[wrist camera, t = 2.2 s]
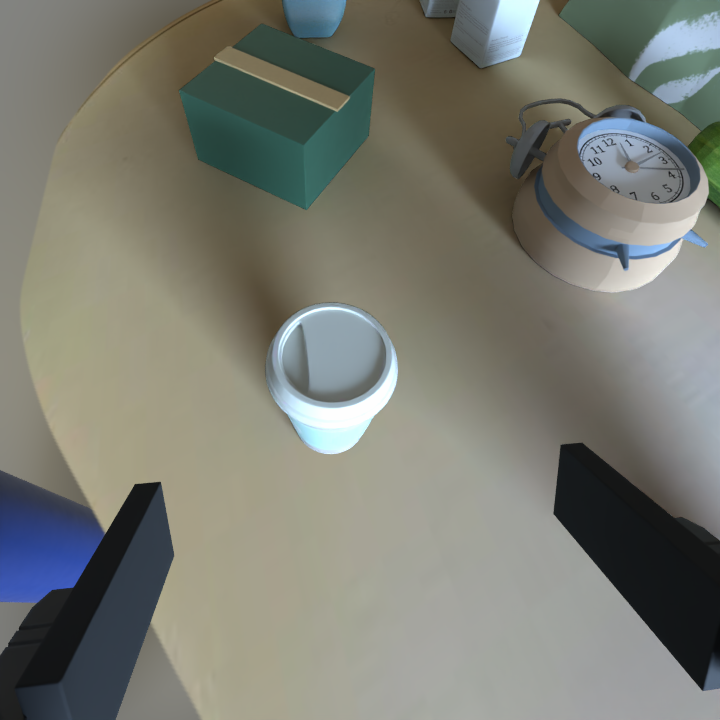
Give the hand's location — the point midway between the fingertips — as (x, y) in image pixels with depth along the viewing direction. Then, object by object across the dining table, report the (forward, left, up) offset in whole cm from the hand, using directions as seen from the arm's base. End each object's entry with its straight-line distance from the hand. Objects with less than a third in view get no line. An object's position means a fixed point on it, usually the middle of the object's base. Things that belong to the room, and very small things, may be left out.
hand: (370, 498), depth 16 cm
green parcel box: (-27, +35, -22) cm, 49 cm away
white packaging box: (-15, +67, -22) cm, 72 cm away
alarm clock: (+5, +44, -22) cm, 49 cm away
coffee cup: (-6, +9, -22) cm, 25 cm away
